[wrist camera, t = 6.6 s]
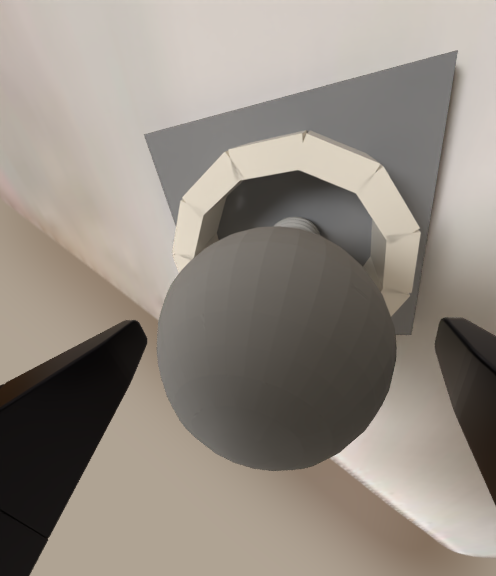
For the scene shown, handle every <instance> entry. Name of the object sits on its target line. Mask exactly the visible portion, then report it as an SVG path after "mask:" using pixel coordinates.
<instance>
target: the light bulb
mask: <svg viewBox="0 0 496 576" xmlns="http://www.w3.org/2000/svg"><path fill="white" fill-rule="evenodd" d="M157 357H158V366H159V371H160V375H161V378H162V382H163V385H164V388H165V392H166V395H167V397H168V399H169V401H170V403H171V405H172V407H173V409H174V411H175V413H176V415H177V416H178V418H179V420H180V421H181V423H182V424H183V425H184V427H185V428H186V429H187V430H188V431H189V432H190V433H191V434H192V435H193V436H194V437H195V438H197V439H198V440H199V441H200V442H202V443H203V444H204V445H206V446H207V447H208V448H209V449H211V450H212V451H213V452H214V453H216V454H218V455H220V456H222V457H224V458H226V459H228V460H230V461H232V462H234V463H237V464H240V465H244V466H247V467H250V468H254V469H262V470H269V471H281V470H295V469H304V468H308V467H311V466H314V465H316V464H318V463H320V462H322V461H324V460H326V459H328V458H330V457H332V456H334V455H336V454H338V453H340V452H341V451H342V450H343V449H344V448H345V447H346V446H348V445H349V444H350V443H351V442H352V441H353V440H355V439H356V438H357V437H358V436H359V435H360V434H361V433H363V432H364V431H365V430H366V428H367V427H368V426H369V424H370V423H371V421H372V420H373V419H374V417H375V415H376V414H377V412H378V411H379V409H380V407H381V406H382V404H383V402H384V400H385V397H386V395H387V393H388V391H389V388H390V384H391V379H392V375H393V371H394V366H395V362H396V337H395V327H394V324H393V321H392V318H391V315H390V313H389V310H388V308H387V305H386V302H385V300H384V297H383V295H382V293H381V292H380V290H379V288H378V287H377V285H376V284H375V282H374V281H373V280H372V278H371V277H370V275H369V274H368V273H367V271H366V270H365V269H364V267H363V266H362V265H361V264H359V263H358V262H357V261H356V260H355V259H354V258H353V257H352V256H350V255H349V254H348V253H347V252H346V251H345V250H344V249H342V248H341V247H339V246H338V245H336V244H334V243H332V242H331V241H329V240H327V239H325V238H324V237H322V236H320V233H319V231H318V229H317V228H316V226H315V225H314V224H313V223H312V222H310V221H309V220H307V219H305V218H302V217H287V218H284V219H282V220H280V221H279V222H277V223H276V224H275V225H274V226H273V227H257V228H253V229H249V230H245V231H242V232H238V233H234V234H231V235H229V236H227V237H225V238H223V239H221V240H219V241H217V242H215V243H213V244H211V245H210V246H208V247H207V248H205V249H204V250H203V251H201V252H200V253H199V254H198V255H197V256H196V257H194V258H193V259H192V260H191V261H190V262H189V263H188V264H187V265H186V266H185V267H184V268H183V269H182V270H181V271H180V273H179V274H178V276H177V277H176V279H175V280H174V282H173V283H172V284H171V286H170V288H169V290H168V293H167V295H166V298H165V301H164V304H163V307H162V310H161V314H160V317H159V321H158V334H157Z"/></svg>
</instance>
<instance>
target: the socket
mask: <svg viewBox="0 0 496 576" xmlns="http://www.w3.org/2000/svg"><path fill="white" fill-rule="evenodd" d="M457 52H458V50H456V51H453V52H449V53H445V54H442V55H438V56H434V57H430V58H427V59H423V60H419V61H416V62H412V63H408V64H404V65H401V66H397V67H393V68H389V69H386V70H382V71H378V72H375V73H371V74H367V75H363V76H360V77H356V78H352V79H349V80H345V81H341V82H337V83H334V84H330V85H326V86H323V87H319V88H315V89H311V90H308V91H304V92H300V93H297V94H293V95H289V96H285V97H282V98H278V99H274V100H271V101H267V102H263V103H259V104H256V105H252V106H248V107H245V108H241V109H237V110H233V111H230V112H226V113H222V114H219V115H215V116H211V117H207V118H204V119H200V120H196V121H193V122H189V123H185V124H181V125H178V126H174V127H170V128H166V129H163V130H159V131H155V132H152V133H148V134H144V136H145V139H146V142H147V145H148V148H149V150H150V153H151V156H152V159H153V162H154V165H155V168H156V171H157V173H158V176H159V179H160V182H161V185H162V188H163V191H164V194H165V196H166V199H167V202H168V205H169V208H170V211H171V214H172V216H173V219H174V222H175V225H176V231H175V238H174V244H173V250H172V253H174V255H172V256H173V258H174V261H175V264H176V266H177V269H178V272H179V273H180V271H181V270H182V269H183V268H184V267H185V266H186V265H187V264H188V263H189V262H190V261H191V260H192V259H193V258H194V257H196V256H197V255H198V254H199V253H200V252H201V251H203V250H204V249H205V248H207V247H208V246H210V245H211V244H213V243H215V242H217V241H219V240H221V239H223V238H225V237H227V236H229V235H231V234H234V233H238V232H242V231H245V230H249V229H253V228H257V227H273V226H274V225H275V224H276V223H277V222H279V221H280V220H282V219H284V218H287V217H302V218H305V219H307V220H309V221H310V222H312V223H313V224H314V225H315V226H316V228H317V229H318V231H319V233H320V236H322V237H324V238H325V239H327V240H329V241H331V242H332V243H334V244H336V245H338V246H339V247H341V248H342V249H344V250H345V251H346V252H347V253H348V254H349V255H350V256H352V257H353V258H354V259H355V260H356V261H357V262H358V263H359V264H361V265H362V266H363V267H364V269H365V270H366V271H367V273H368V274H369V275H370V277H371V278H372V280H373V281H374V282H375V284H376V285H377V287H378V288H379V290H380V292H381V293H382V295H383V297H384V300H385V302H386V305H387V308H388V310H389V313H390V315H391V318H392V321H393V324H394V327H395V335H411V333H412V327H413V321H414V315H415V309H416V303H417V297H418V291H419V285H420V278H421V272H422V266H423V260H424V254H425V248H426V242H427V236H428V230H429V223H430V217H431V211H432V205H433V199H434V193H435V187H436V181H437V175H438V168H439V162H440V156H441V150H442V144H443V138H444V132H445V126H446V120H447V113H448V107H449V101H450V95H451V89H452V83H453V77H454V71H455V65H456V58H457Z"/></svg>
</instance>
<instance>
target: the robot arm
mask: <svg viewBox="0 0 496 576" xmlns="http://www.w3.org/2000/svg"><path fill="white" fill-rule="evenodd" d="M146 345H147V337H146V335H145V333H144V331H143V329H142V327H141V325H140V323H139V322H138V321H136V320H126V321H123V322H121V323H119V324H117V325H115V326H113V327H112V328H110V329H108V330H106V331H104V332H102V333H100V334H98V335H96V336H94V337H92V338H90V339H88V340H87V341H85V342H83V343H81V344H79V345H77V346H75V347H73V348H71V349H69V350H67V351H66V352H64V353H62V354H60V355H58V356H56V357H54V358H52V359H50V360H48V361H46V362H44V363H43V364H41V365H39V366H37V367H35V368H33V369H31V370H29V371H27V372H25V373H24V374H22V375H20V376H18V377H16V378H14V379H12V380H10V381H8V382H6V383H5V384H3V385H0V576H29V575H30V573H31V572H32V570H33V568H34V566H35V564H36V562H37V560H38V558H39V556H40V554H41V553H42V550H43V549H44V547H45V545H46V543H47V541H48V538H49V537H50V535H51V533H52V531H53V529H54V527H55V525H56V524H57V522H58V520H59V518H60V516H61V514H62V512H63V510H64V508H65V506H66V505H67V503H68V501H69V499H70V497H71V495H72V493H73V491H74V489H75V488H76V485H77V483H78V482H79V480H80V478H81V476H82V474H83V472H84V470H85V469H86V467H87V465H88V463H89V461H90V459H91V457H92V455H93V454H94V452H95V450H96V448H97V446H98V444H99V442H100V440H101V438H102V436H103V435H104V433H105V431H106V429H107V427H108V425H109V423H110V421H111V419H112V418H113V416H114V414H115V412H116V410H117V408H118V406H119V404H120V402H121V401H122V399H123V397H124V395H125V393H126V391H127V389H128V387H129V385H130V383H131V381H132V379H133V376H134V374H135V371H136V369H137V367H138V364H139V362H140V360H141V357H142V354H143V352H144V350H145V347H146ZM435 351H436V355H437V358H438V361H439V364H440V368H441V371H442V374H443V378H444V381H445V384H446V387H447V391H448V394H449V397H450V400H451V403H452V406H453V409H454V412H455V414H456V417H457V419H458V422H459V424H460V426H461V429H462V431H463V433H464V435H465V438H466V440H467V442H468V444H469V447H470V449H471V451H472V453H473V456H474V458H475V460H476V462H477V465H478V467H479V469H480V471H481V474H482V476H483V478H484V480H485V483H486V485H487V487H488V489H489V492H490V494H491V496H492V499H493V501H494V503H495V505H496V336H495V335H493V334H491V333H489V332H487V331H486V330H484V329H482V328H480V327H479V326H477V325H475V324H473V323H471V322H470V321H468V320H466V319H464V318H443V319H441V321H440V323H439V327H438V331H437V336H436V340H435Z"/></svg>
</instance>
